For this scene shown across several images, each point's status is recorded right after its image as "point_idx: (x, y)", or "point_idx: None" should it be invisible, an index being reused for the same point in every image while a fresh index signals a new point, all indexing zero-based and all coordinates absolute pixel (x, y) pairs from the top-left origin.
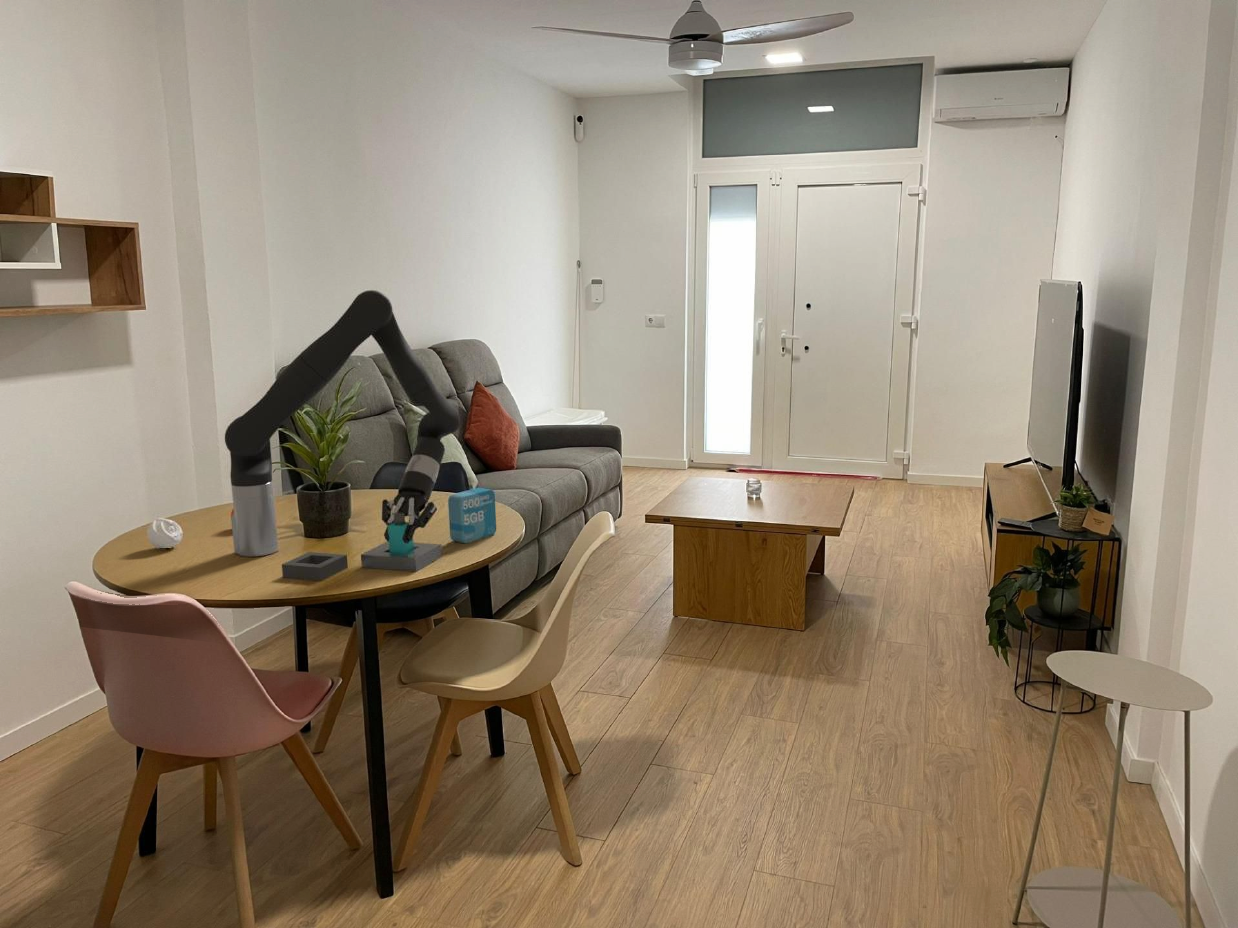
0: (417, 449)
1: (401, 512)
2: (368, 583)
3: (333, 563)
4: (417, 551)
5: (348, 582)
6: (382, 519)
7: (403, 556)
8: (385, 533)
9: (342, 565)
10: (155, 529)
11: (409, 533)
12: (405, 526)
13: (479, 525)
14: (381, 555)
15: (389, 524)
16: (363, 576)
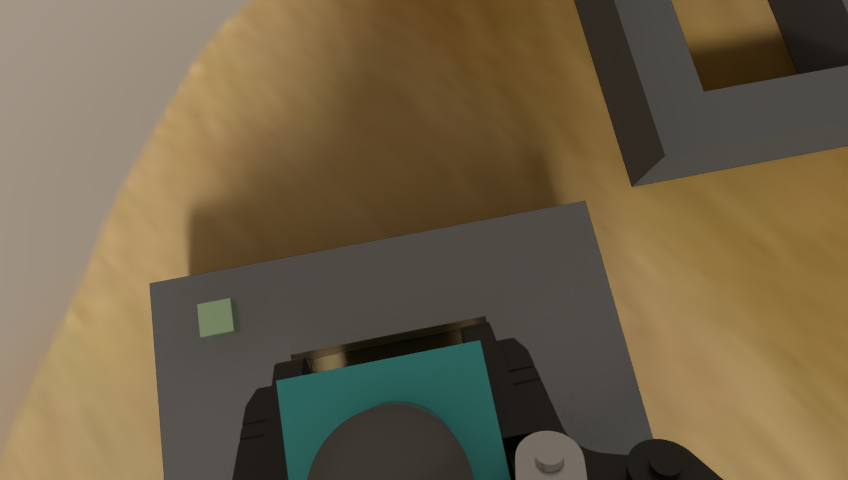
0: None
1: None
2: (311, 34)
3: (616, 28)
4: None
5: (420, 6)
6: (671, 447)
7: (268, 293)
8: (518, 359)
9: (626, 127)
10: None
11: (252, 427)
12: (287, 436)
13: None
14: (434, 244)
15: (528, 425)
16: (421, 106)
